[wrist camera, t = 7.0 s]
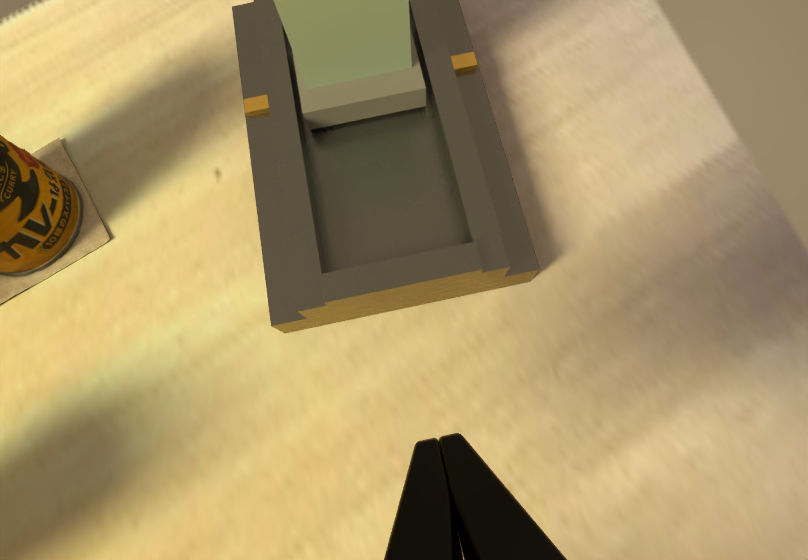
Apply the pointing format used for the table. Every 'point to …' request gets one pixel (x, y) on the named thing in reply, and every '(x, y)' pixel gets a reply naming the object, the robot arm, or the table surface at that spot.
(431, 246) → the rail
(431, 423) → the table surface
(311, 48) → the fader tab
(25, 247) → the condiment
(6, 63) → the table surface
